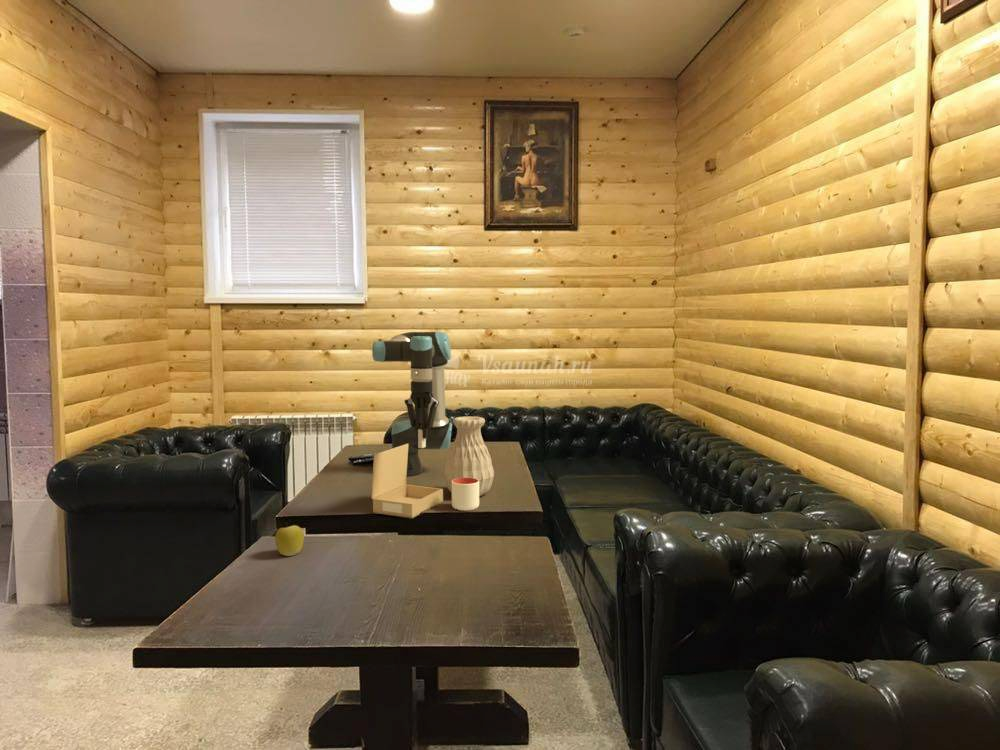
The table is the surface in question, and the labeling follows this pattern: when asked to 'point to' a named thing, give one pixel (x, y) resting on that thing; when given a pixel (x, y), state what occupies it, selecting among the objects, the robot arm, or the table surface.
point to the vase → (469, 455)
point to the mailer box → (407, 501)
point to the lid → (389, 470)
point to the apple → (289, 540)
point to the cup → (465, 494)
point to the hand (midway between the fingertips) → (422, 447)
